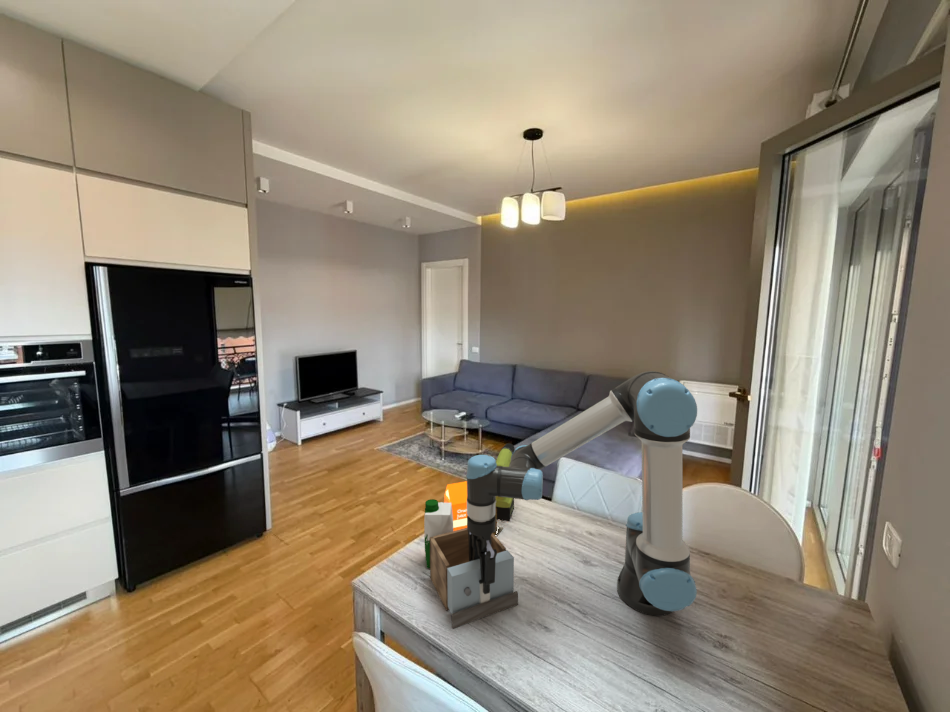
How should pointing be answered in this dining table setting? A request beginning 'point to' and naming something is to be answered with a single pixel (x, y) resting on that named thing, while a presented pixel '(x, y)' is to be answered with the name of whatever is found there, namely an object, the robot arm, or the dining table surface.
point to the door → (467, 582)
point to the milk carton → (436, 522)
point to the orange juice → (457, 503)
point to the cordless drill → (505, 503)
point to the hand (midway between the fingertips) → (481, 596)
